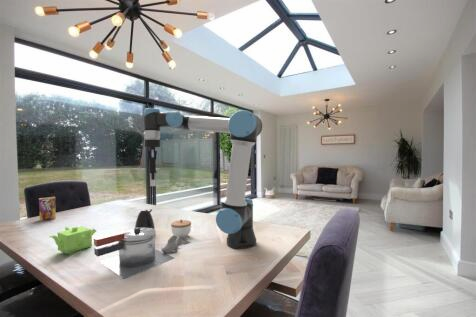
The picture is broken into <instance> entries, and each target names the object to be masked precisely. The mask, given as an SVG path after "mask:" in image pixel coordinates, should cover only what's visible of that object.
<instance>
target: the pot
mask: <svg viewBox="0 0 476 317" xmlns="http://www.w3.org/2000/svg"><path fill="white" fill-rule="evenodd" d="M155 249H156V235H155V236H154V237H152V238H150V239H147V240H144V241H139V242H122V241H117V242H113V243H110V244H106V245H102V246H98V247H96V246H95V247H94V249H93V250H94V252H93V253H94V256H96V257H101V256H104V255H108V254H111V253H114V252H117V251H118V255H119V264H120V265H121V266H122V267H127V268H133V267H140V266H144V265H147V264H149V263H151V262H152V261H153V260H154V259H155Z"/></svg>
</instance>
